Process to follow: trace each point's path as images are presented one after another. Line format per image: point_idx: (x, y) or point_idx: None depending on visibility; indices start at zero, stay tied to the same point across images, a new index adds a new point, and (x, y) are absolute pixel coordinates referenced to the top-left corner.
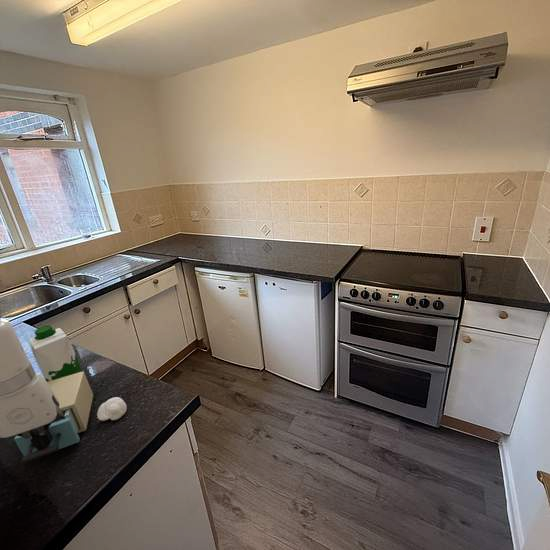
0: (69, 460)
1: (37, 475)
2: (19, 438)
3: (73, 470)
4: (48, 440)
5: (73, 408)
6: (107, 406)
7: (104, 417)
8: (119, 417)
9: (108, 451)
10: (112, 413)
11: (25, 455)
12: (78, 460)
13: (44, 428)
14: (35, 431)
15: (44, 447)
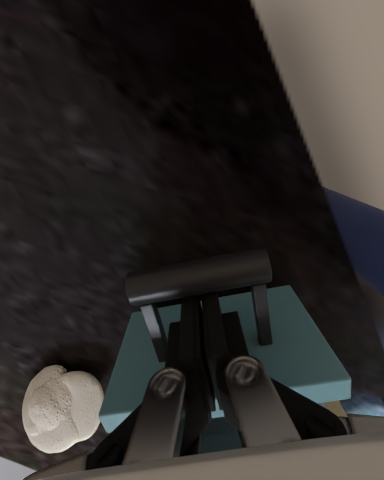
0: (142, 254)
1: (232, 224)
2: (325, 376)
3: (105, 210)
4: (171, 331)
5: None
6: (62, 423)
7: (72, 382)
8: (42, 370)
9: (12, 254)
10: (46, 391)
11: (262, 278)
12: (108, 246)
13: (137, 418)
14: (223, 403)
15: (188, 301)
